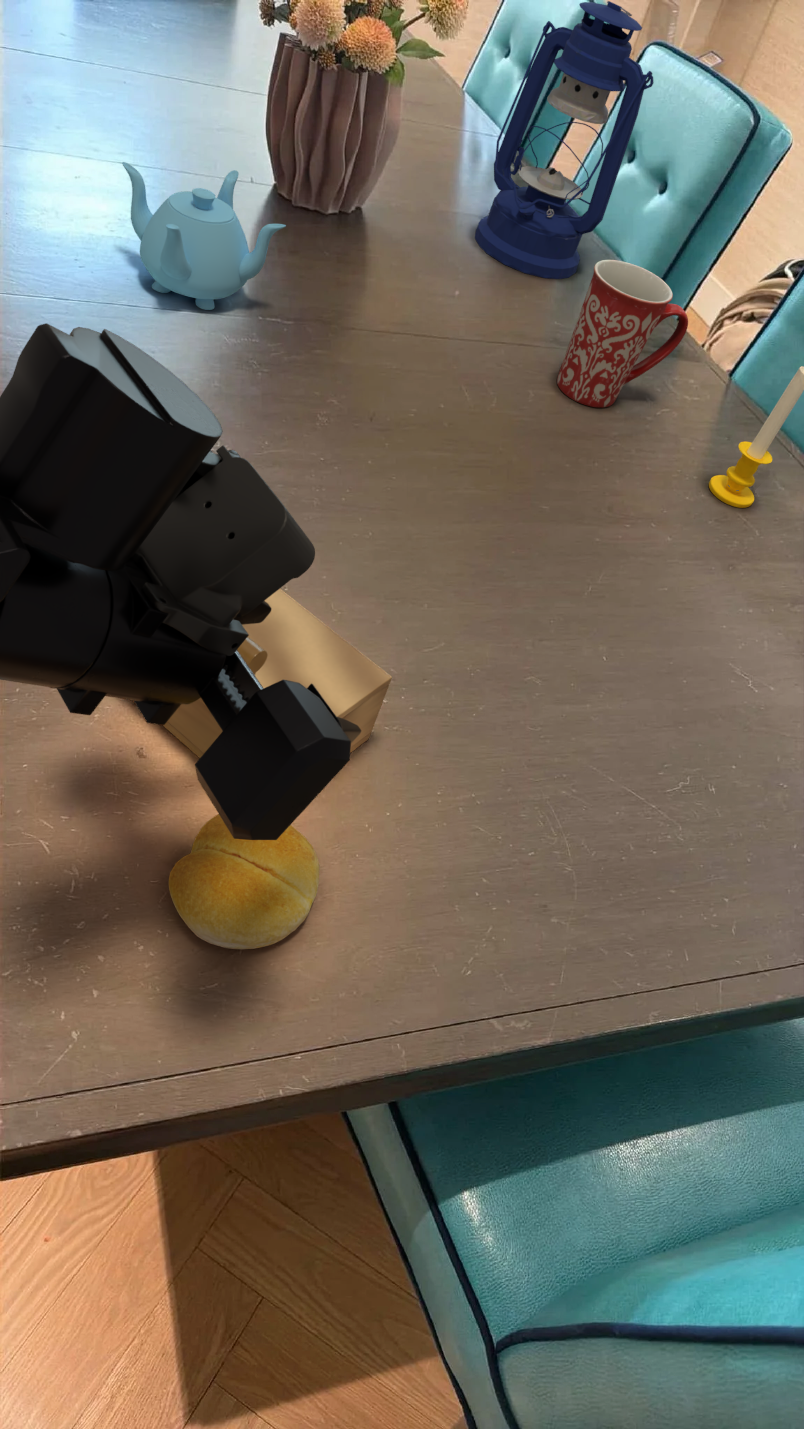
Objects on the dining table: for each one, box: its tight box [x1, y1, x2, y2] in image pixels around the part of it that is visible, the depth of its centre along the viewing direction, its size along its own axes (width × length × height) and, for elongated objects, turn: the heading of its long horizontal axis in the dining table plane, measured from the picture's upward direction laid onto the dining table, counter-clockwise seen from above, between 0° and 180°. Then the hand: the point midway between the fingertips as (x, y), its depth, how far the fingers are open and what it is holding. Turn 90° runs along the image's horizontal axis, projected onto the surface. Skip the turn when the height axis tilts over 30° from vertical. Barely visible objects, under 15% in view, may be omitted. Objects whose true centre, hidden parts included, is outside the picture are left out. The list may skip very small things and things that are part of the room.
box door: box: [199, 588, 393, 718], centre depth 63 cm, size 11×14×5 cm
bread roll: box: [168, 813, 320, 950], centre depth 59 cm, size 8×9×4 cm
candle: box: [708, 365, 804, 509], centre depth 104 cm, size 5×5×16 cm
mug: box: [556, 259, 689, 408], centre depth 112 cm, size 13×9×14 cm
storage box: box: [162, 684, 390, 759], centre depth 67 cm, size 11×14×6 cm
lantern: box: [474, 0, 655, 280], centre depth 129 cm, size 17×15×30 cm
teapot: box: [121, 161, 287, 311], centre depth 104 cm, size 13×13×10 cm
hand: (308, 672), depth 52 cm, fingers open, 9 cm apart
